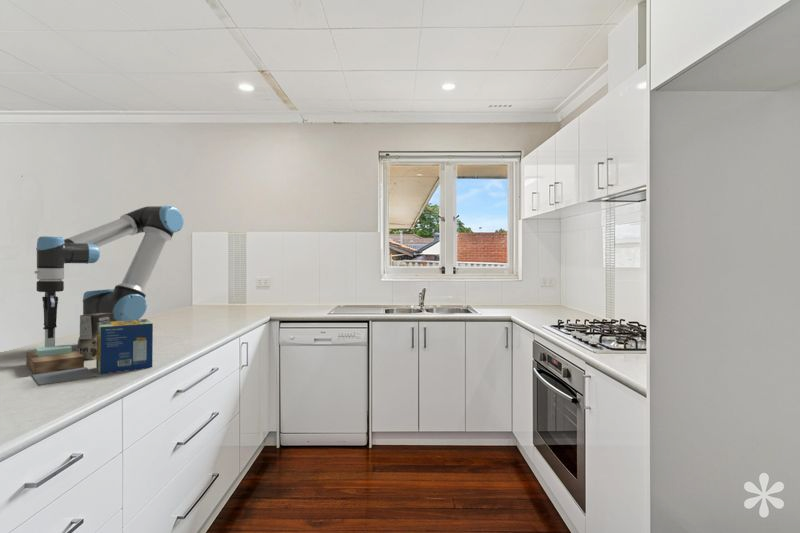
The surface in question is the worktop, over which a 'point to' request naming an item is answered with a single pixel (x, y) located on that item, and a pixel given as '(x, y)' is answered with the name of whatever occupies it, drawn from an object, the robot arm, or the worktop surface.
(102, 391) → the worktop surface
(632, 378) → the worktop surface
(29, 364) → the brown wooden block
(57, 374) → the mat
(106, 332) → the protein box
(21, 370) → the worktop surface
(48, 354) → the mint green rectangular slab
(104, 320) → the coffee box
